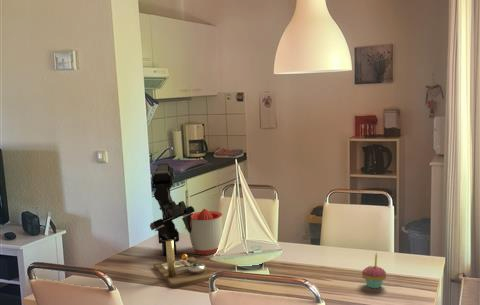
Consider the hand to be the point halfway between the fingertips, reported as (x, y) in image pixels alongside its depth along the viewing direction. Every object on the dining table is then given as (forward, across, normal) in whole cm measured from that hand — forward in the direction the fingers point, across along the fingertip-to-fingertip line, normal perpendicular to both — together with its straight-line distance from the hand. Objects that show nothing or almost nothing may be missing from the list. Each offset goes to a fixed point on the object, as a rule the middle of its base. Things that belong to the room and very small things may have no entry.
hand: (180, 237), depth 198 cm
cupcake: (+44, +40, -49) cm, 77 cm away
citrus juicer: (+11, +17, +20) cm, 29 cm away
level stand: (+14, -4, +3) cm, 15 cm away
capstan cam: (+12, -3, +3) cm, 13 cm away
